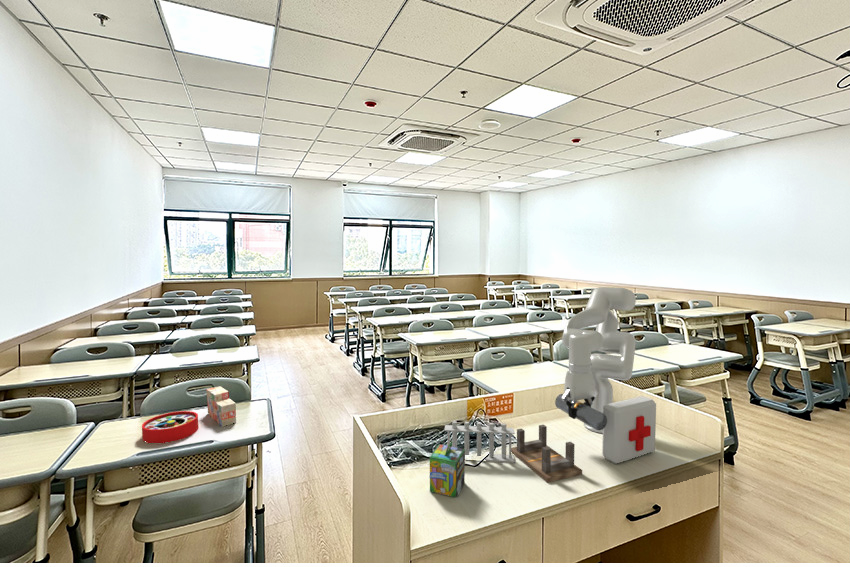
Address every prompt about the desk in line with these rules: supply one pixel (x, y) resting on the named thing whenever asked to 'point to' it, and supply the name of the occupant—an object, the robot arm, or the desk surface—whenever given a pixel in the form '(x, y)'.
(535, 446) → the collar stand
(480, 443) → the test tube rack
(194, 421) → the toy clock
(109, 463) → the desk surface
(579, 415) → the grey cylinder
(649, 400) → the bevelled white case
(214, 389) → the stack of blocks
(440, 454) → the chalk box
